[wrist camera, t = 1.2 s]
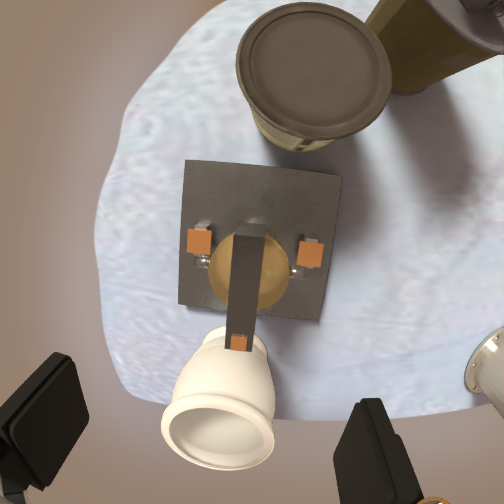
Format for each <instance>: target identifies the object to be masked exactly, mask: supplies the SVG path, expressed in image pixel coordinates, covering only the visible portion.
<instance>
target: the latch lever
mask: <svg viewBox="0 0 504 504" xmlns="http://www.w3.org/2000/svg"><path fill="white" fill-rule="evenodd" d="M266 226H267V225H266V224H257V223H248V222H241V223H240V224H239V226H238V228H237V230H236V231H234V232H232V233H230V234H229V235H227V236H226V237H225V238H224V239H223V240H222V241H221V243H220V244H219V245H218V247H217V248H216V250H215V251H214V253H213V255H212V256H204V255H195V257H194V267H198V268H207V269H208V276H209V281H210V285H211V287H212V289H213V291H214V292H215V294H216V295H217V296H218V298H219V299H220V300H221V301H223V302H224V303H225V304H227V305H228V308H227V321H226V334H225V348H224V349H230V350H235V351H243V352H252V347H253V339H254V331H255V322H256V314H257V311H258V310H262V309H265V308H267V307H269V306H271V305H273V304H274V303H275V302H277V301H278V300H279V299H280V298H281V297H282V295H283V294H284V292H285V290H286V288H287V286H288V282H289V278H293V279H302V280H305V279H306V274H307V267H300V266H291V265H289V264H288V258H287V254H286V251H285V249H284V247H283V245H282V244H281V243H280V241H279V240H278V239H277V238H276V237H275V236H273V235H272V234H270V233H269V232H266Z"/></svg>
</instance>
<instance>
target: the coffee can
mask: <svg viewBox="0 0 504 504" xmlns="http://www.w3.org/2000/svg"><path fill="white" fill-rule="evenodd" d="M236 74H237V79H238V83H239V86H240V88H241V90H242V92H243V95H244V97H245V98H246V100H247V102H248V103H249V105H250V108H251V111H252V115H253V118H254V121H255V123H256V125H257V127H258V129H259V130H260V132H261V133H262V134H263V135H264V136H265V137H266V138H267V139H268V140H269V141H271V142H272V143H273V144H275V145H277V146H279V147H281V148H283V149H286V150H289V151H295V152H309V151H313V150H317V149H319V148H322V147H324V146H325V145H327V144H329V143H330V142H332V141H335V140H337V139H339V138H344V137H347V136H350V135H353V134H355V133H357V132H359V131H361V130H363V129H365V128H366V127H367V126H369V125H370V124H371V123H372V122H373V121H375V120H376V119H377V117H378V116H379V115H380V114H381V112H382V111H383V109H384V107H385V106H386V103H387V101H388V99H389V96H390V92H391V87H392V71H391V65H390V62H389V58H388V56H387V53H386V51H385V49H384V47H383V45H382V43H381V42H380V40H379V38H378V37H377V36H376V35H375V33H374V32H373V31H372V30H371V29H370V28H369V27H368V26H367V25H366V24H364V23H363V22H362V21H361V20H359V19H358V18H356V17H355V16H353V15H352V14H350V13H348V12H346V11H344V10H342V9H339V8H337V7H334V6H330V5H327V4H322V3H315V2H297V3H290V4H286V5H282V6H279V7H277V8H274V9H272V10H270V11H268V12H266V13H264V14H263V15H262V16H260V17H259V18H258V19H256V20H255V21H254V22H253V23H252V24H251V25H250V26H249V28H248V29H247V30H246V32H245V33H244V35H243V37H242V39H241V41H240V43H239V46H238V50H237V54H236Z"/></svg>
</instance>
